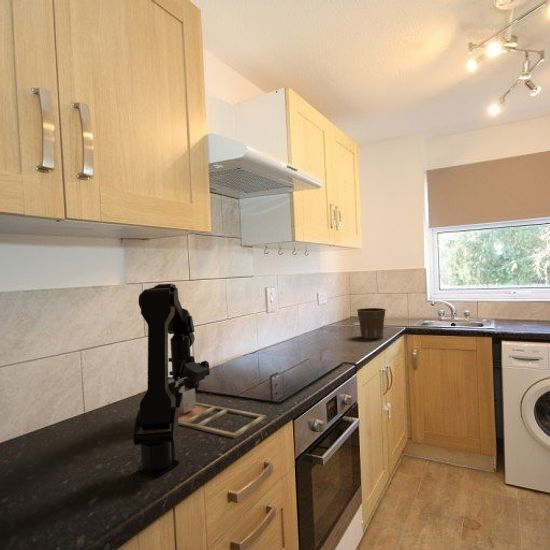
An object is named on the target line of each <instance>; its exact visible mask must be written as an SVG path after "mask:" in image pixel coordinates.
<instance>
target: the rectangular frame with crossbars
mask: <svg viewBox="0 0 550 550" xmlns="http://www.w3.org/2000/svg"><path fill="white" fill-rule="evenodd" d="M213 411H219V412H216V413H215V414H213V415H211V416H209V417H208V418H205V419H203V420H202V421H200V422H198V423H192V422H195V421H196V420H199V419H200V418H202V417H203V416H206V415H207V414H210V413H212V412H213ZM227 413H231V414H236V415H241V416H244V417H245V416H246V417H250V418H256V419H254V420H252V421H251V422H249V423H248V424H246V425H244V426H243V427H241V428H240V429H238V430H236V431H234V432H231V431H226V430H222V429H218V428H214V427H209V426H205V425H206V424H208V423H210V422H212V421H214V420H216V419H217V418H219V417H221V416H223V415H225V414H227ZM265 419H267V415H264V414H259V413H255V412H249V411H243V410H238V409H235V408H228V407H223V406H218V405H212V404H207V403H202V402H198V401H196V408H194V409H192V410H190V411H188V412H186V413H181V412H178V426H179V425H180V426H183V427H187V428H190V429H191V428H192V429H196V430H199V431H202V432H203V431H204V432H208V433H213V434H216V435H220V436H223V437H228V438H232V439H236V438H237V437H238V436H239V437H240V435H242V434H243V433H245V432H246V431H248V430H250V429H251V428H253V427H254V426H256V425H257V424H259V423H260V422H262V421H263V420H265Z"/></svg>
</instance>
